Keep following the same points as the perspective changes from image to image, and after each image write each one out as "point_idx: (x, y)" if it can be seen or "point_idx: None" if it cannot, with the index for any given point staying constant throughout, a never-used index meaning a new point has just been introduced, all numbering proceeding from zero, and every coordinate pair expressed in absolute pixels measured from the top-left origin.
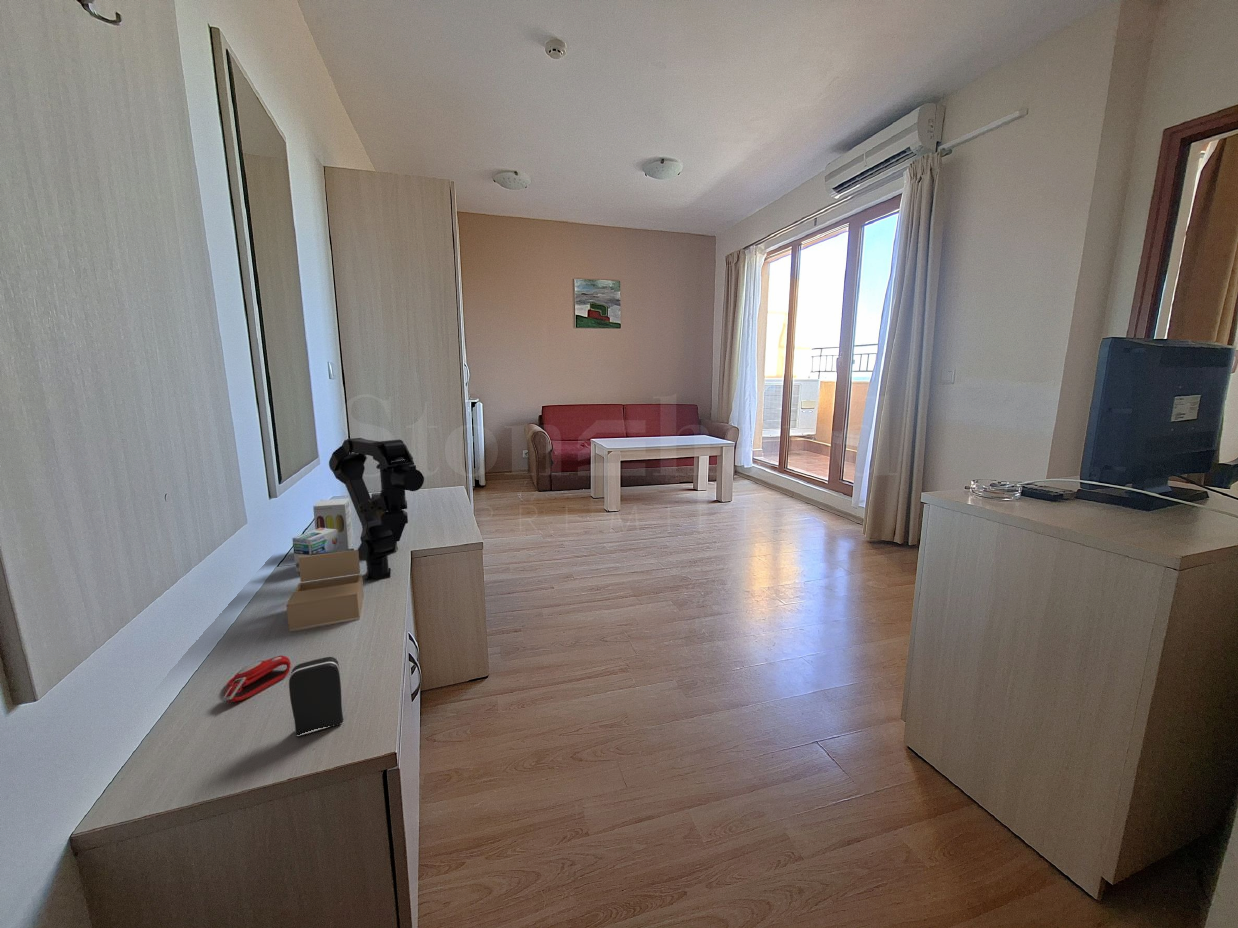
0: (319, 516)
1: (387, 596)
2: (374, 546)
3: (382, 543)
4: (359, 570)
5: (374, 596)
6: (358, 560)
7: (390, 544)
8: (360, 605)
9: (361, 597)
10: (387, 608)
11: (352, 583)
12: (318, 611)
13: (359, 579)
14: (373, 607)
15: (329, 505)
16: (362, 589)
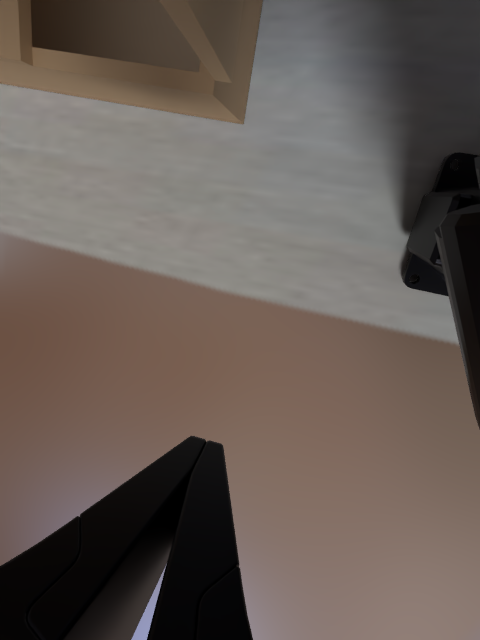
0: None
1: (171, 227)
2: (446, 241)
3: (467, 333)
4: (211, 71)
5: (201, 173)
6: (185, 35)
7: (471, 392)
8: (60, 89)
9: (124, 98)
10: (54, 206)
11: (14, 8)
12: None
13: (117, 71)
14: (86, 153)
15: None
16: (201, 109)
